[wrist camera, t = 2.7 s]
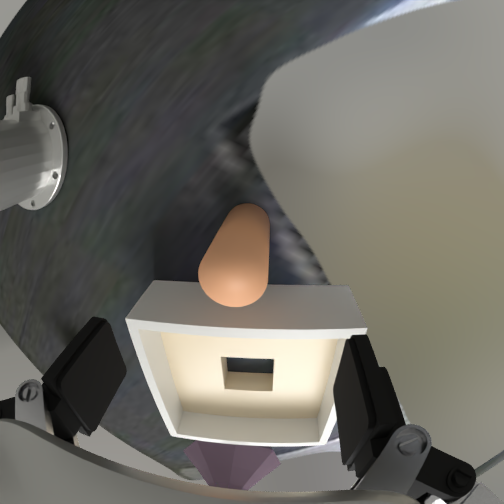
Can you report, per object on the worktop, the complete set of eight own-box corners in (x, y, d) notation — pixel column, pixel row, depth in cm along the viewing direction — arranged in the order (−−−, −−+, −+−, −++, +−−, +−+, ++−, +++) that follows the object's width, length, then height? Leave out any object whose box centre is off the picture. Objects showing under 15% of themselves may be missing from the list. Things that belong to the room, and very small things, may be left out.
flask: (189, 448, 43) (170, 532, 25) (186, 407, 37) (154, 520, 18) (272, 460, 43) (267, 545, 25) (292, 422, 37) (292, 538, 18)
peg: (224, 203, 24) (195, 244, 15) (270, 203, 24) (268, 245, 15) (226, 245, 26) (201, 305, 17) (269, 246, 26) (267, 308, 16)
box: (153, 280, 28) (125, 318, 21) (348, 285, 27) (367, 327, 20) (182, 398, 36) (171, 435, 29) (321, 404, 34) (325, 444, 28)
